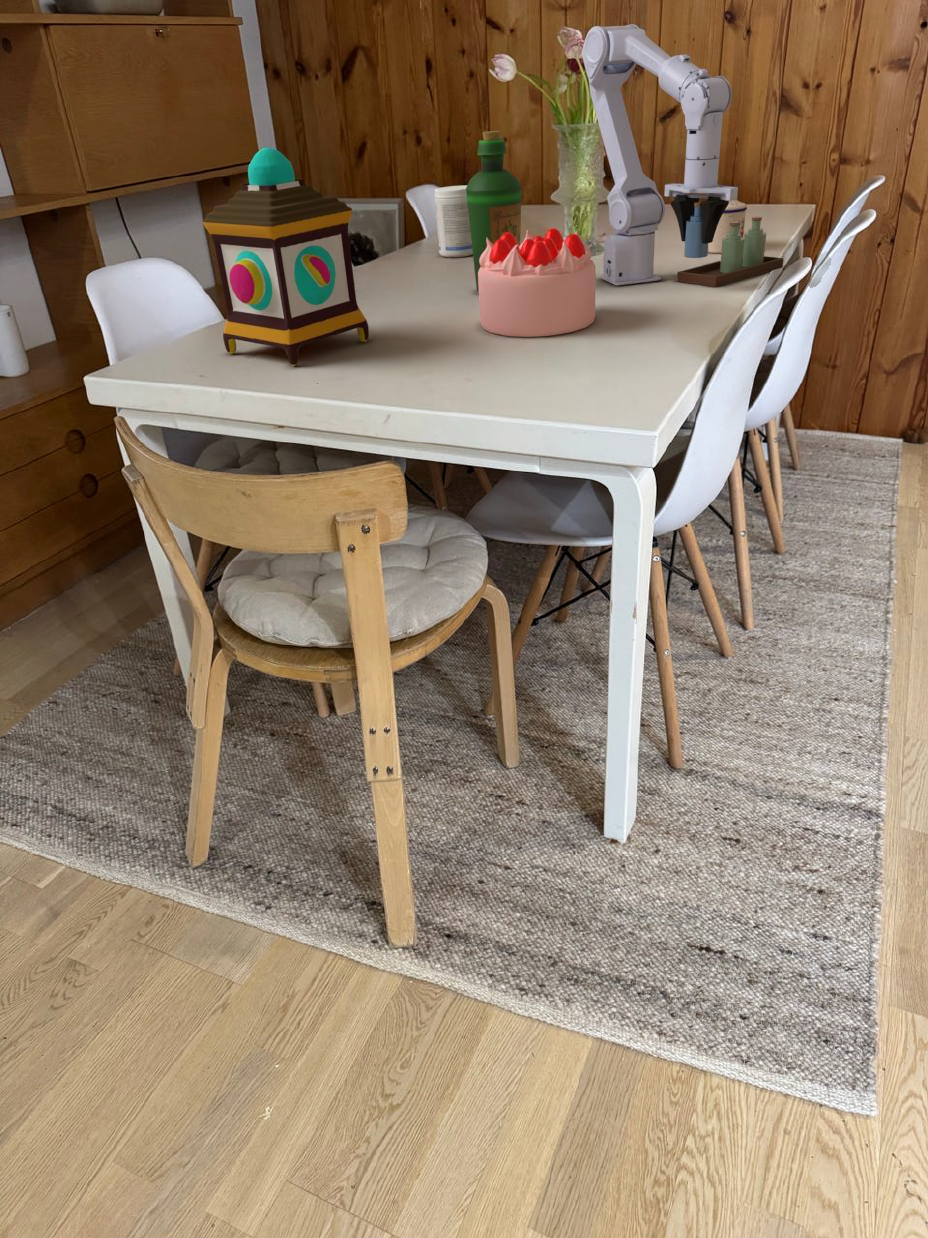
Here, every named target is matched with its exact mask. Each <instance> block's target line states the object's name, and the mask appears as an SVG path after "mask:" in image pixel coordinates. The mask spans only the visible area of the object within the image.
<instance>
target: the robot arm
mask: <svg viewBox="0 0 928 1238" xmlns="http://www.w3.org/2000/svg"><path fill="white" fill-rule="evenodd" d="M581 57H582V60H583V61H582V62H583V64H584V68H585V73H586V75H587V80H588V84H589V86H588V87H589V93H590V97H591V101H592V105H593V109H594V112H595V116H596V119H597V123H598V126H599V131H600V134H601V138H602V141H603V142H602V143H603V145H604V148H605V153H606V156H607V159H608V163H609V167H610V171H611V174H612V178H613V181H614V182H613V183H614V185H613V187H612V188H611V190H610V192H609V193H608V195H607V197H606V200H607V205H608V219H609V224H610V226H611V228H612V229H613V231H614V234H611V235H610V234H609V235H607V236H606V238H605V239H604V244H603V271H602V272H603V273H602V275H603V276H601V279H602V280H603V281H606V282H607V283H610V284H612V285H614V286H623V285H624V286H626V285H635V284H641V283H650V282H657V281H662V278H661V277H660V276H658V275H655V274H654V266H655V265H654V264H655V263H654V262H655V244H656V243H655V242H656V241H655V239H656V231H658V230H659V225H660V224H662V222H663V220H664V217H665V214H666V206H665V205H666V204H665V201H664V198H663V197H662V195H661V194H660V193H659V191H658V188H657V185H656V182H655V181H654V180H652V179H651V178H650V177H648V176H647V175H646V174H645V173H644V172H643V169H642V165H641V162H640V158H639V155H638V154H639V153H638V150H637V147H636V142H635V139H634V135H633V132H632V128H631V124H630V120H629V116H628V113H627V109H626V105H625V102H624V98H623V94H622V87H623V84H625V83H626V82H627V81H628V79H629V77H630V76H631V75H632V72H633V71H634V69H635V66H636V65H638V66H640V67H642V68H643V69H645V70H646V71H648V72H650V73H651V74H652V75H654V76H656V77H657V78H658V85H659V88H660V89H661V90H662V91H664V92H665V93H666V94H667V95H669V96H670V97H671V98H673V99H674V100H676V101H677V102H678V103H680V105H681V110H682V113H683V115H684V119H685V120H684V126H685V129H686V147H685V161H684V162H685V164H684V178H683V183H668V184H667V183H666V184H664V197H668V198H669V197H674V199H673V200H671V201H670V206H671V208H672V211H673V212H674V214H675V217H676V220H677V223H678V229H679V232H680V239H681V242H685V234H686V221H687V220H690V217H691V216H692V215H694V209H695V206H694V202H700V207H701V213H702V223H703V225H702V244H707V243H711V242H712V241H713V238H714V235H715V231H716V228H717V226H718V223H719V221H720V218H721V216H722V214H723V213H724V211H725V209H726V207H727V206H728V204H729V201H732V200H738V193H739V187H738V186H729V185H722V184H718V181H719V169H720V168H719V166H720V156H721V155H720V153H721V142H722V141H721V140H722V130H723V114H724V113H726V112H727V110H728V109H729V107H730V105H731V103H732V97H733V96H732V95H733V93H732V87H731V84H730V82H729V81H728V80H727V79H726V77H725V76H723V75H717V76H714V77H712V76H710V75H709V71H708V70H707V69H706V68H699V67H698V66H697V65H696V64H695V63H693V62H692V61H691V56H690V55H688V54H685V53H684V54H676V55H673V56H670V55H669V54H668V53H667V52H666V51H664V49H662V48H661V47H660V46H658V45H657V43H655V42H654V41H653V40H652V39H651V38H649V37H648V36H647V33H646V30H645V29H643V28H640V27H639V26H638V25H636V24H633V23H631V24H627V25H612V26H601V25H595V26H593V27H591V28H590V29H589V31H588V32H587V34H586V36H585V39H584V43H583V47H582V49H581ZM700 199H707V200H702V201H700Z"/></svg>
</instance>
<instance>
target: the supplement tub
mask: <svg viewBox="0 0 928 1238" xmlns="http://www.w3.org/2000/svg"><path fill="white" fill-rule="evenodd" d="M467 185H468V184H467ZM467 185H451V186H443V187H438V188H435V189H434V208H435V218H436V230H437V231H436V233H437V243H438V252H439V255H440V256H441V257H443V258H465V257H468V256H469V257H470V256H473V250H472V241H471V232H470V223H469V213H468V204H467V195H466V187H467Z"/></svg>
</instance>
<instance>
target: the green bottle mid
mask: <svg viewBox="0 0 928 1238" xmlns="http://www.w3.org/2000/svg"><path fill="white" fill-rule="evenodd" d="M739 226H740V222H730V234H727V235H726V238H724V239H722V250H721V253H720V261H721V262H720V272H721V273H729V272H733V271H736V270H740V269H742V263H743V252H744V241H745V238H744V237H743V238H742V237H741V234H738V231H739Z"/></svg>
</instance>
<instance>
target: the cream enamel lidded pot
mask: <svg viewBox="0 0 928 1238" xmlns="http://www.w3.org/2000/svg"><path fill="white" fill-rule="evenodd" d="M747 209H748V206H747V204H746V203H745V202H742V201H739V200H738V199H737V200H732V201H729V204H728V206H727V207H726V209H725V211H724V213H723V214H722V216H721V218H720V221H719V223H718V226H717V228H716V231H715V235H714V238H713V241H712V242H711V243H709V245H708V254H709V253H710V254H721V250H722V239H724V238H726V235H727V234H730V222H740V226H739V231H738V234H741V237H742V238H744V234H745V222H746V211H747Z"/></svg>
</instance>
